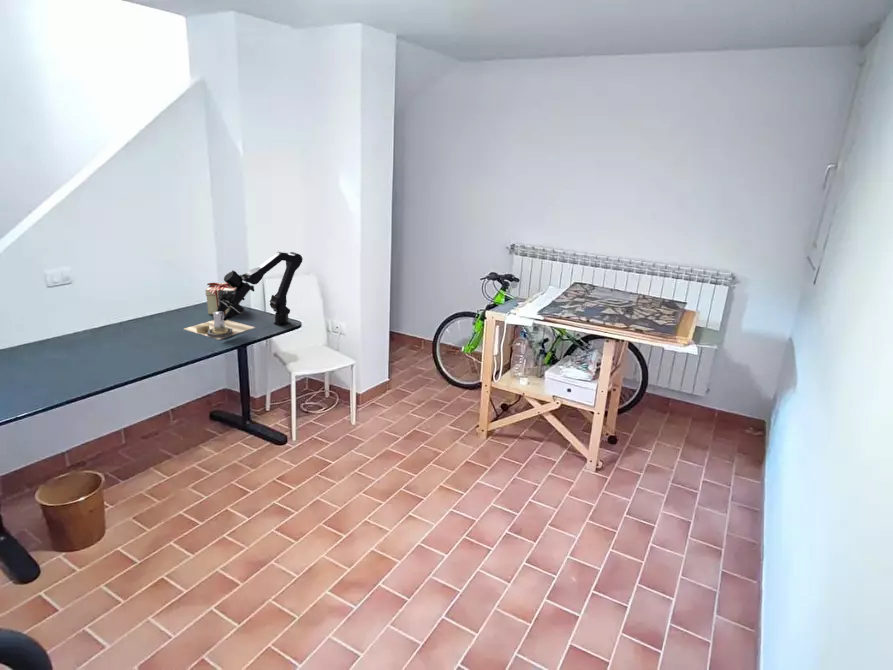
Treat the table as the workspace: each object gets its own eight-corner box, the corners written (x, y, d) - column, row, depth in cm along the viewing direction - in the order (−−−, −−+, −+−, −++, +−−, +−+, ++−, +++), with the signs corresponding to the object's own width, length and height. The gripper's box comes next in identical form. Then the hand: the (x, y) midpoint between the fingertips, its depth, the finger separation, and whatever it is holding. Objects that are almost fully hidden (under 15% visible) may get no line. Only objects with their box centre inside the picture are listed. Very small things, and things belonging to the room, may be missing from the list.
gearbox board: (220, 319, 300) (220, 313, 299) (255, 329, 288) (254, 322, 287) (183, 330, 281) (182, 324, 279) (218, 341, 269) (218, 334, 268)
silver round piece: (216, 330, 280) (214, 309, 277) (231, 331, 280) (229, 311, 276) (209, 335, 273) (207, 314, 270) (224, 336, 273) (222, 315, 269)
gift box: (206, 318, 301) (203, 287, 295) (211, 308, 318) (208, 279, 312) (240, 317, 305) (237, 287, 300) (243, 307, 322) (240, 278, 316)
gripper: (219, 279, 278) (199, 304, 275) (236, 287, 266) (215, 313, 262) (236, 292, 286) (217, 316, 283) (252, 300, 274) (232, 326, 270)
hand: (220, 318), depth 274 cm, fingers open, 9 cm apart
